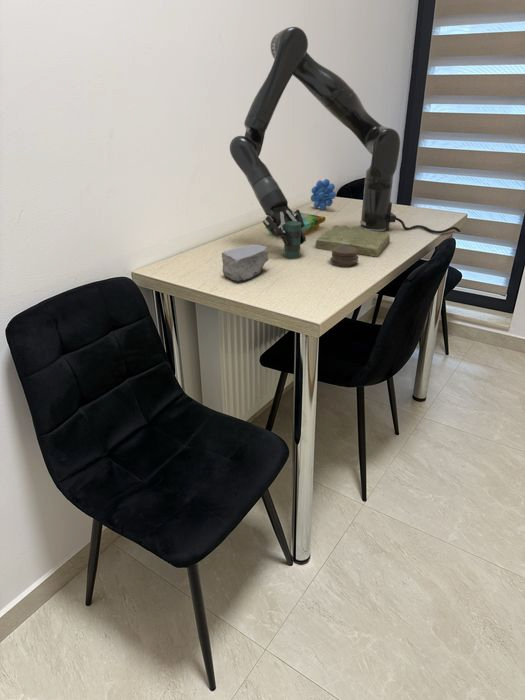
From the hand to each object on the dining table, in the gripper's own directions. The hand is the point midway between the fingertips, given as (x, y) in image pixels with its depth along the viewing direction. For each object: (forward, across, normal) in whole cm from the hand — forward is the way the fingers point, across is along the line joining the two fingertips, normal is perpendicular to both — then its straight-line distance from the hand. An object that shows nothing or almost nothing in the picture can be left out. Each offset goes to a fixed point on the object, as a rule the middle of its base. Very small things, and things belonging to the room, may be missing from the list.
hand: (297, 243), depth 154 cm
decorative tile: (+5, +23, +1) cm, 24 cm away
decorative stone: (+3, -21, +3) cm, 22 cm away
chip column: (+2, 0, +4) cm, 5 cm away
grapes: (-21, +51, +28) cm, 62 cm away
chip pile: (+12, +7, -6) cm, 15 cm away
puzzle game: (-11, +20, +17) cm, 28 cm away
